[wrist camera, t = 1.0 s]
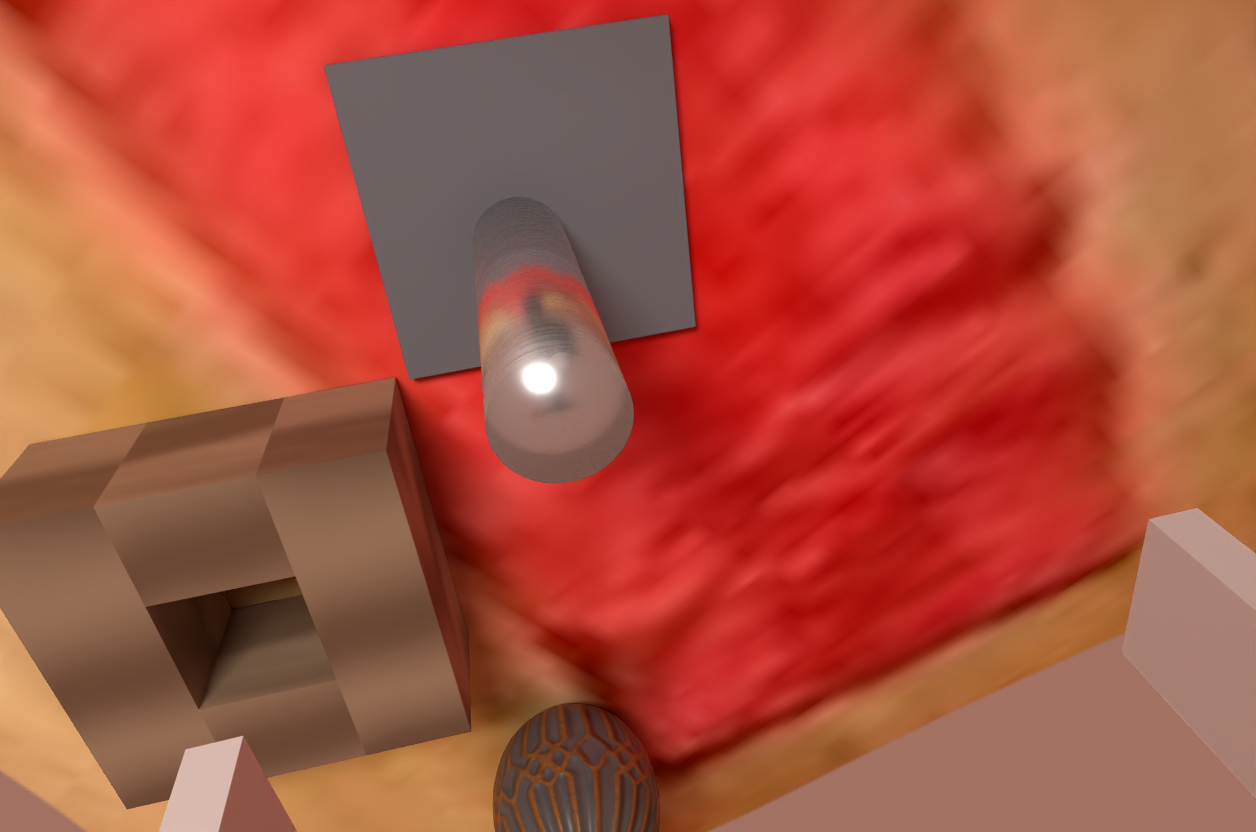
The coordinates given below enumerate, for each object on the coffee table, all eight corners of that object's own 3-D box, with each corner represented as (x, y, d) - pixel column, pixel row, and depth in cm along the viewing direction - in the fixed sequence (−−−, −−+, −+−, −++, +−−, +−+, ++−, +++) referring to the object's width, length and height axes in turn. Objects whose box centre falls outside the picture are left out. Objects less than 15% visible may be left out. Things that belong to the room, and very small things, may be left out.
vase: (549, 656, 37) (574, 840, 29) (671, 711, 40) (723, 891, 32) (459, 759, 39) (461, 956, 31) (581, 804, 42) (611, 994, 34)
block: (29, 444, 28) (-47, 533, 24) (395, 377, 30) (385, 450, 25) (167, 700, 34) (127, 809, 30) (468, 636, 36) (470, 731, 31)
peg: (463, 205, 27) (471, 367, 17) (558, 189, 27) (624, 339, 17) (482, 295, 28) (500, 495, 18) (572, 279, 29) (641, 467, 18)
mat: (325, 64, 25) (324, 66, 24) (665, 14, 26) (668, 15, 25) (410, 374, 30) (409, 379, 29) (692, 322, 31) (695, 326, 30)
